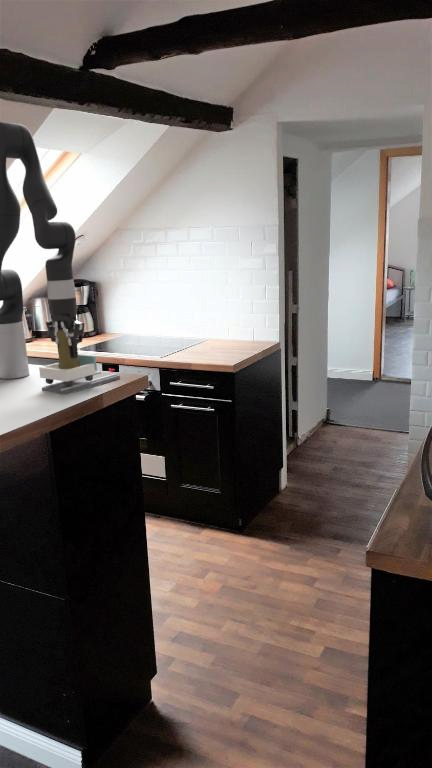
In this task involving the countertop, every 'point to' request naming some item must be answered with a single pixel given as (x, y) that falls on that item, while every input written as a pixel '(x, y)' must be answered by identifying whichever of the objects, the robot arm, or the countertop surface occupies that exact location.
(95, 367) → the cart
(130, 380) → the countertop surface
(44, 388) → the rail board
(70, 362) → the olive green pepper mill
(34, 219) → the robot arm
